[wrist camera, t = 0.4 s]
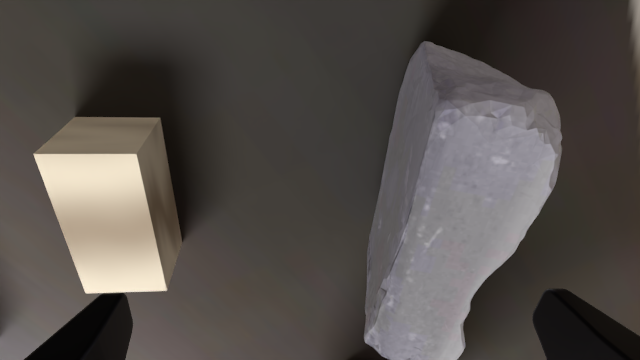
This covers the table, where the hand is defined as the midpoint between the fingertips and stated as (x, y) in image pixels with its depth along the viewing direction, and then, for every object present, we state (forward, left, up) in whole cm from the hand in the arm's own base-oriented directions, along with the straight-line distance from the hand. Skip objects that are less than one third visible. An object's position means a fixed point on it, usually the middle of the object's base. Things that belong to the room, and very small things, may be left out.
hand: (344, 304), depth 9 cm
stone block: (-3, -5, -13) cm, 14 cm away
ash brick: (-5, +9, -13) cm, 17 cm away
